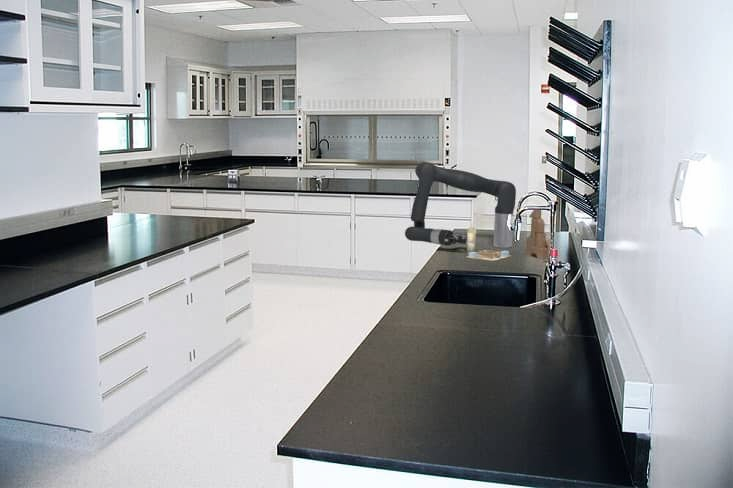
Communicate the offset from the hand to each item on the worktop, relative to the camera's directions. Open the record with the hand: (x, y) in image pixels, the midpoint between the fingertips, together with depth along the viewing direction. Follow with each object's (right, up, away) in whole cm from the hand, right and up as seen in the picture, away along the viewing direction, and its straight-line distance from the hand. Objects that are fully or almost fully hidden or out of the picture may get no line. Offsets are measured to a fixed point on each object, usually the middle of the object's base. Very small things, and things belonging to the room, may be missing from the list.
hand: (470, 240), depth 335 cm
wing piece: (+14, -7, -6) cm, 17 cm away
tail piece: (0, -7, -10) cm, 12 cm away
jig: (+7, -8, -8) cm, 14 cm away
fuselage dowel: (0, -7, +1) cm, 7 cm away
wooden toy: (+31, -9, -6) cm, 32 cm away
